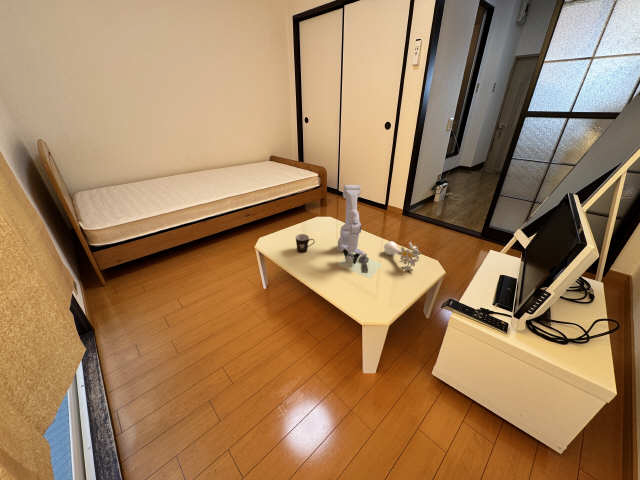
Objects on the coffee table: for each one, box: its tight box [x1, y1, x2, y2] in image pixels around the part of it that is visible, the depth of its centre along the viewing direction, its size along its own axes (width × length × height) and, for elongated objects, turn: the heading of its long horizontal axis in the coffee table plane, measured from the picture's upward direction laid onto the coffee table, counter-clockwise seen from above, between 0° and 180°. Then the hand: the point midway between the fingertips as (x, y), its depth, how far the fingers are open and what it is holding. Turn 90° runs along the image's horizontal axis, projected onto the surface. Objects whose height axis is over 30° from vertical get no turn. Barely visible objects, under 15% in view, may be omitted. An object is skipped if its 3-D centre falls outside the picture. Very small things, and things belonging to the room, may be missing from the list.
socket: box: [345, 253, 356, 267], centre depth 150 cm, size 5×5×6 cm
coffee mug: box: [295, 233, 315, 254], centre depth 160 cm, size 12×9×10 cm
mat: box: [337, 253, 383, 279], centre depth 151 cm, size 22×18×1 cm
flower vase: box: [383, 240, 421, 271], centre depth 153 cm, size 13×18×25 cm
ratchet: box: [359, 252, 370, 273], centre depth 149 cm, size 16×6×4 cm, turn 176°
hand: (350, 261), depth 150 cm, fingers closed on socket, 5 cm apart
